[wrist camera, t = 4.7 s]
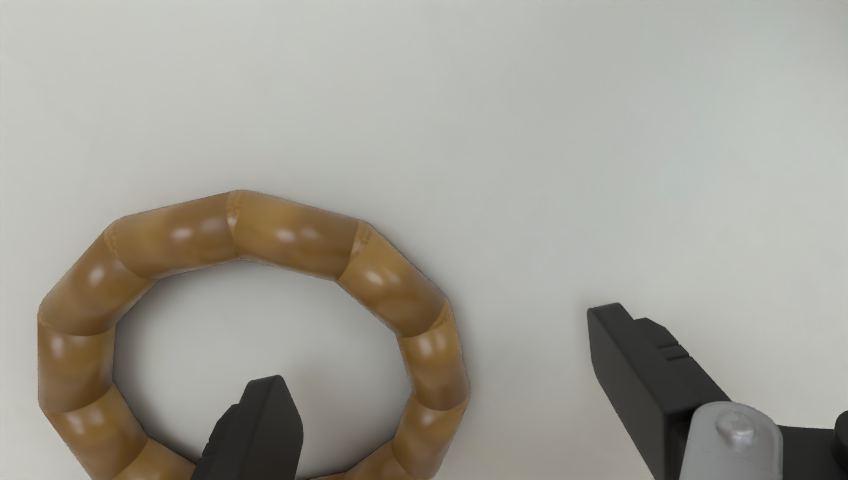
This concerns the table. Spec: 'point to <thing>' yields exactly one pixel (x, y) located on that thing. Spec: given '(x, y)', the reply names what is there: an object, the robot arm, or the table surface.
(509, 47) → the table surface
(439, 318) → the ring
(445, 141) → the table surface
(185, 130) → the table surface
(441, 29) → the table surface
